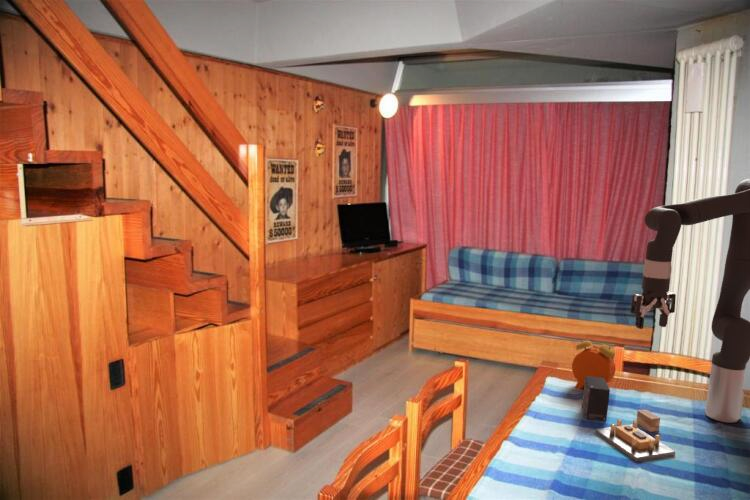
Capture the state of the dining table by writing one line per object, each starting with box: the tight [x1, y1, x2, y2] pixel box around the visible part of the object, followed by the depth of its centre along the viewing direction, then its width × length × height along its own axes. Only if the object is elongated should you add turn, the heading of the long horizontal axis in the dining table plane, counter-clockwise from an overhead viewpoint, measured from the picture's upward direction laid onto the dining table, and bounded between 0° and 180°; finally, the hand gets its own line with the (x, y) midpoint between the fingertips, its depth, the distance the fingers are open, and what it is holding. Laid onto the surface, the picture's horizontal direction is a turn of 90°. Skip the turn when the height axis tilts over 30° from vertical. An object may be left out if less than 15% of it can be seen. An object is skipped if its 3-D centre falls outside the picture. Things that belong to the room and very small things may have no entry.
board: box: [615, 424, 655, 449], centre depth 169 cm, size 5×10×3 cm, turn 18°
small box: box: [581, 376, 611, 422], centre depth 188 cm, size 11×6×10 cm, turn 168°
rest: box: [636, 409, 661, 433], centre depth 181 cm, size 3×6×4 cm, turn 18°
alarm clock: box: [571, 332, 616, 390], centre depth 207 cm, size 13×6×20 cm, turn 49°
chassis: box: [594, 419, 676, 462], centre depth 169 cm, size 13×17×4 cm
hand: (650, 327), depth 180 cm, fingers open, 8 cm apart
